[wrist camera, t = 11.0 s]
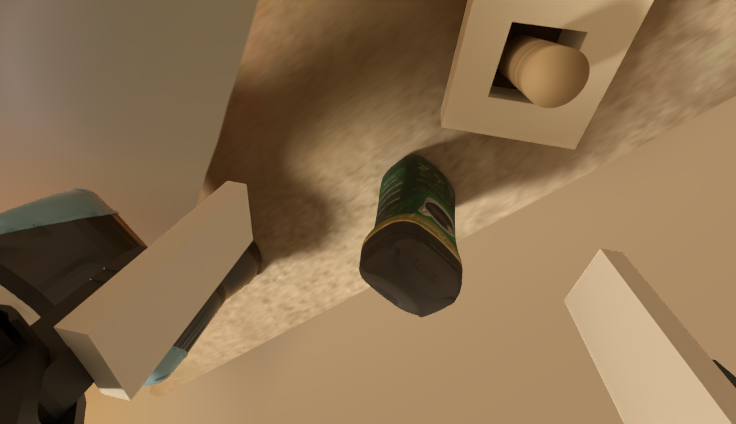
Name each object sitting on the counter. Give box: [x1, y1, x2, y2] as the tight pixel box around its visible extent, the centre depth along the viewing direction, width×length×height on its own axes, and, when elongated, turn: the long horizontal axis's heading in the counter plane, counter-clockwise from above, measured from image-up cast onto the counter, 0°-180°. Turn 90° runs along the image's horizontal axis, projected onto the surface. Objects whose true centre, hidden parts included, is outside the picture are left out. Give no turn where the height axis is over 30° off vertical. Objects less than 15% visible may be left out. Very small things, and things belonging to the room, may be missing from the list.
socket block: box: [441, 0, 654, 150], centre depth 29 cm, size 13×13×6 cm
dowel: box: [498, 35, 590, 108], centre depth 27 cm, size 4×4×12 cm
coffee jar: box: [359, 156, 462, 317], centre depth 34 cm, size 10×8×19 cm
